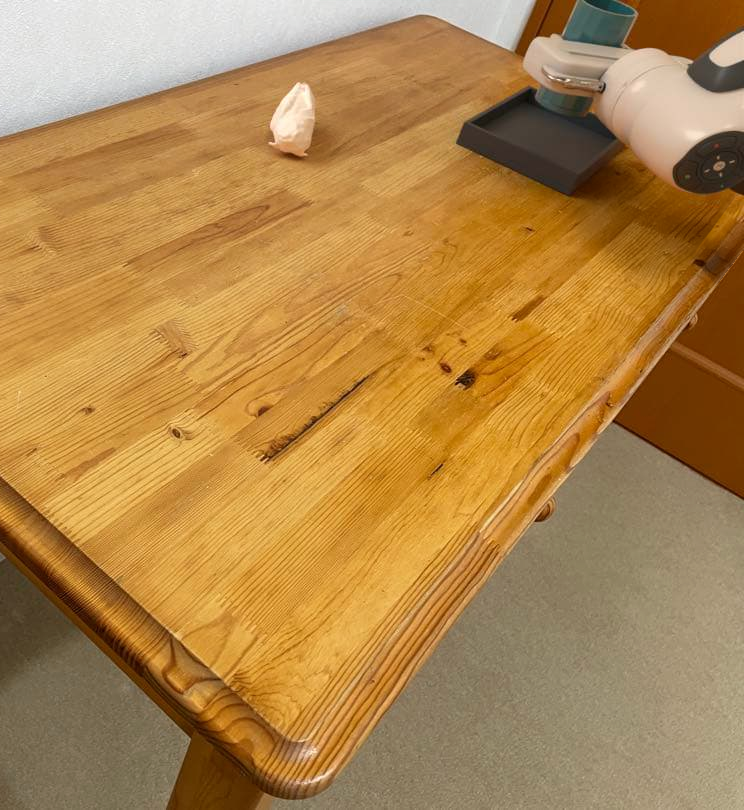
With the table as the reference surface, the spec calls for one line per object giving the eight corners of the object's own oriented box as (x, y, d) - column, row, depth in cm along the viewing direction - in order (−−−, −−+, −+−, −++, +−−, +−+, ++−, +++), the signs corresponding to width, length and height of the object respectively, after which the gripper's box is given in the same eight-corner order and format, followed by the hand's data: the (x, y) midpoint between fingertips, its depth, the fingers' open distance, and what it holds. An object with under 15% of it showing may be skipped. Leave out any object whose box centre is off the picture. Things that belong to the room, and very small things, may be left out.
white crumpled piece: (261, 129, 102) (266, 147, 93) (284, 73, 99) (291, 86, 90) (299, 144, 103) (307, 164, 94) (323, 89, 100) (334, 104, 91)
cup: (574, 96, 109) (621, -1, 101) (597, 120, 104) (648, 19, 96) (526, 90, 108) (569, -10, 100) (547, 113, 103) (595, 11, 95)
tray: (520, 104, 119) (528, 85, 117) (622, 149, 114) (633, 129, 112) (455, 143, 106) (463, 121, 104) (568, 196, 100) (579, 174, 98)
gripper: (540, 111, 92) (495, 60, 102) (704, 132, 96) (645, 81, 106) (567, 53, 88) (517, 6, 98) (737, 77, 92) (672, 29, 102)
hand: (585, 45), depth 102 cm, fingers closed on cup, 7 cm apart
